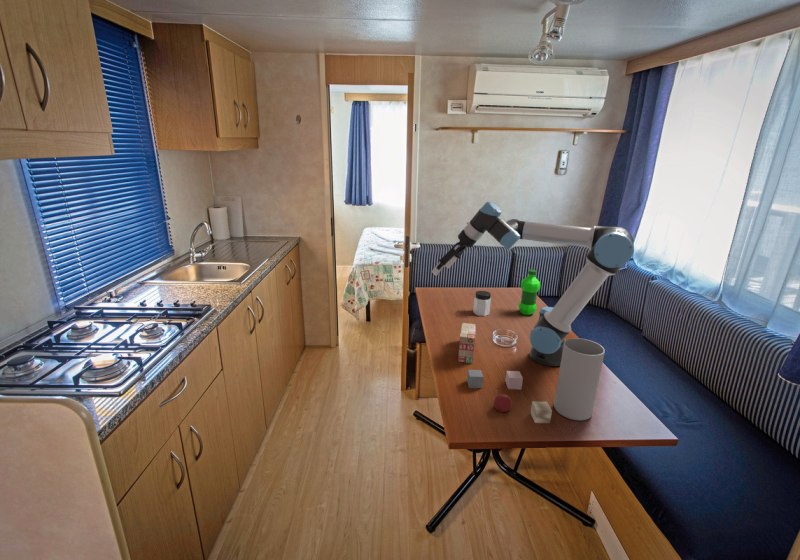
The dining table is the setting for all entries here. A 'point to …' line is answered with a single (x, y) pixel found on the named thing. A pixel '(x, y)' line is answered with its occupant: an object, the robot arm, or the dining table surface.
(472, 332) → the stack of blocks
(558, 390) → the cylinder vase
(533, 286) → the plastic bottle
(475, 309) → the jar
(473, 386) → the slate grey block
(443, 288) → the dining table surface
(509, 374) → the dusty rose block
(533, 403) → the birch block
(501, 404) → the fruit
